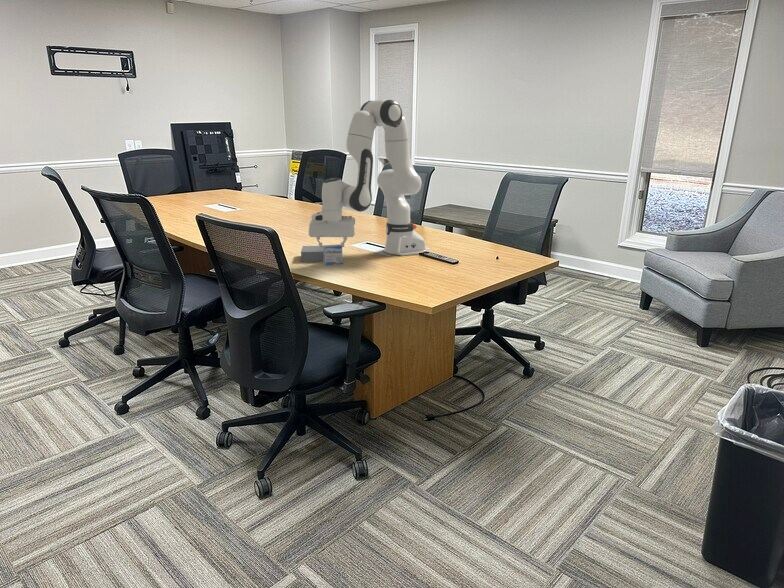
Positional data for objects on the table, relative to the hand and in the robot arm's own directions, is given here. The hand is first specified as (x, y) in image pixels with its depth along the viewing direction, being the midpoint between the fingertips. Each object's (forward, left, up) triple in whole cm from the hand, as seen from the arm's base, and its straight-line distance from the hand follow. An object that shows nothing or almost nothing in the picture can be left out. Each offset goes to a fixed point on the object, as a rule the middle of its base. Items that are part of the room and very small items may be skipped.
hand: (331, 246), depth 243 cm
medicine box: (-1, 0, -8) cm, 8 cm away
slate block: (+8, -11, -8) cm, 15 cm away
